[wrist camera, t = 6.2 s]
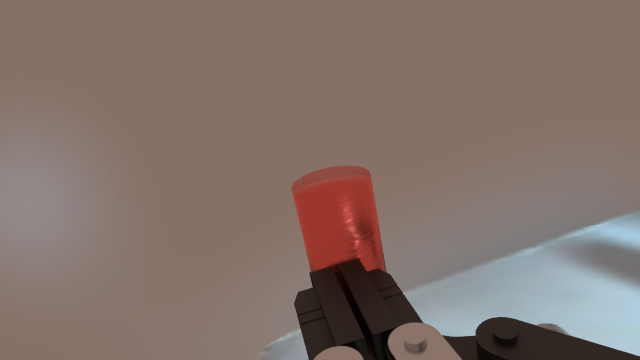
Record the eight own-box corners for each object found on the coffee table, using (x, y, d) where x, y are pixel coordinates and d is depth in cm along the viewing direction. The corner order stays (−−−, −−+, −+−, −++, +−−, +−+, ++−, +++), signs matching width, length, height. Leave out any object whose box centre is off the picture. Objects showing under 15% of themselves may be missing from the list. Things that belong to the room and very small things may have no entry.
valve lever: (771, 422, 15) (849, 124, 11) (833, 510, 12) (960, 165, 9) (353, 384, 20) (306, 167, 16) (338, 441, 17) (278, 201, 13)
